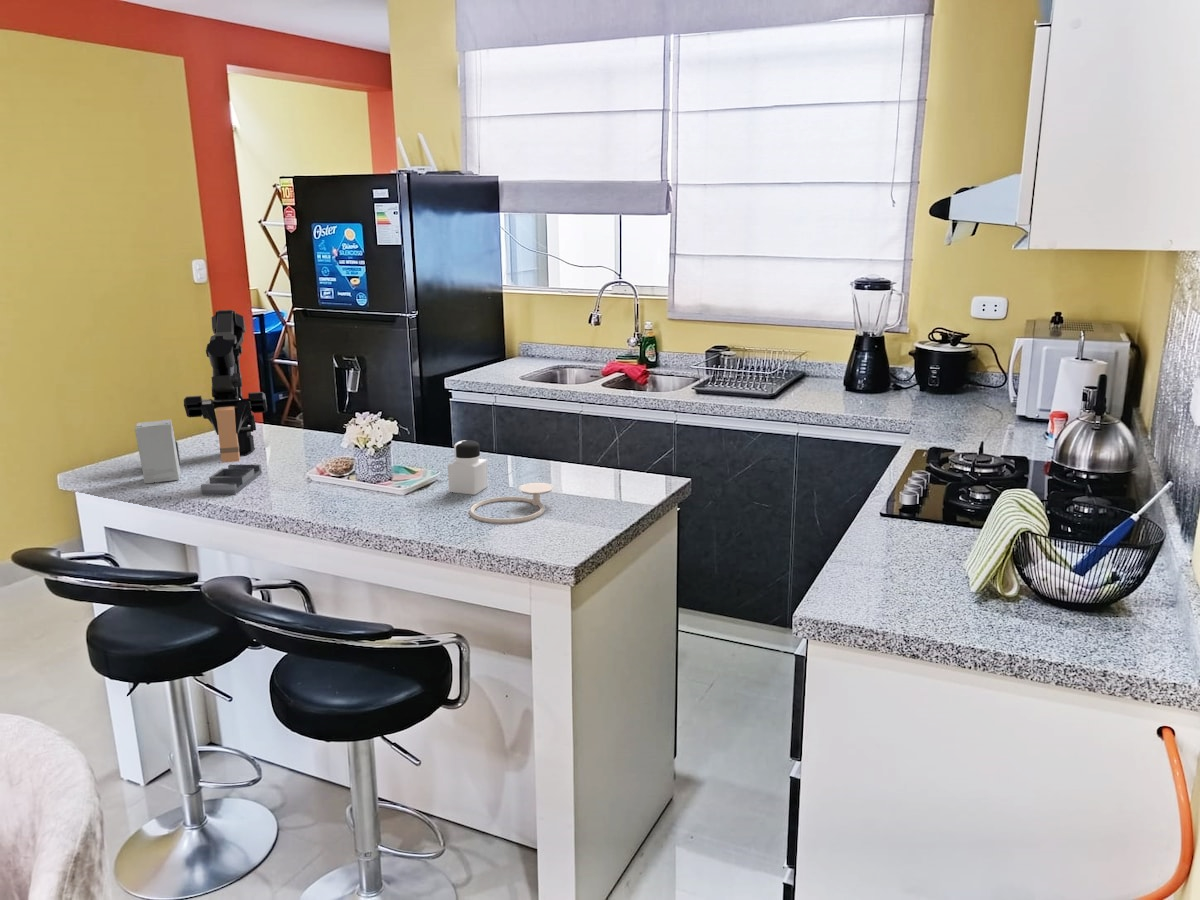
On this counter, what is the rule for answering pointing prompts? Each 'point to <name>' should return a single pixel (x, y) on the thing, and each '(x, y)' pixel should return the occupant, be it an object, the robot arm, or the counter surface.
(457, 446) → the medicine bottle
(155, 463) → the skincare box
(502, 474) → the counter surface
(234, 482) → the dark grey holder base
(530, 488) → the hand towel holder
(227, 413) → the tan tall block
